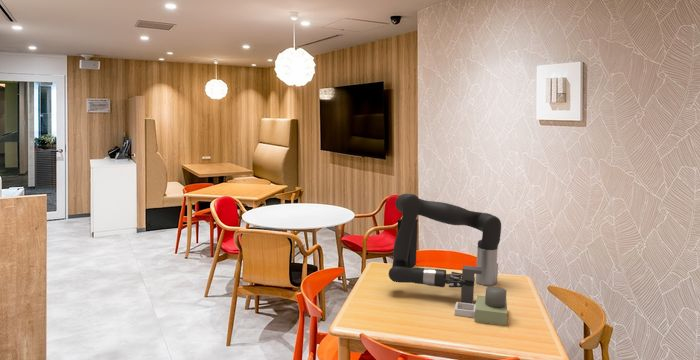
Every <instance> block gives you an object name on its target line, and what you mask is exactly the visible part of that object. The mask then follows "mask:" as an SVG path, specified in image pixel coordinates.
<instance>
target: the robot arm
mask: <svg viewBox="0 0 700 360" xmlns="http://www.w3.org/2000/svg"><path fill="white" fill-rule="evenodd" d="M394 203H395V204H394V205H395V208H396V209H397V210H398V212H400V213H401V217H402V218H401V219H402V222H401V226H400V229H399V231H398V230H397V231H398V234H397V233H396V236H395V240H394V245H393V250H392V258H393V259H392V260H393V261H392V266H391V268H389V270H388V277H389V279H390V280H391V281H392V282H394V283H402V284H403V283H405V284H407V283H408V284H409V283H412V284H417V285H426V286H429V287H430V286H431V287H439V288H445V287H446V285H448V288H460V289H461V288H462V287H463V286H474V287H475V283H476V284H478V285H481V286H493V285H496V284H497V283H498V274H499V273H498V272H499V271H498V270H499V263H498V250H499V248H498V247H499V244H500V242H501V234H502V223H501V220H500V218H499V217H498V216H495V215H494V214H491V213H487V212H479V211H472V210H469V209H466V208H463V207H461V206H458V205H455V204H450V203H448V202H447V203H446V202H442V201H441V202H440V201H434V200H426V199H421V198H419V197H418V195H416V194H413V193H402V194H400V195H398V196H397V198H395V202H394ZM418 216H421V217H425V218H427V219H430V220H432V221H435V222H439V223H443V224H447V225H451V226H467V227H470V228H473V229H476V230H478V231H480V232H482V236H481V239H479V240H478V241H477V248H476V249H477V250H476V251H477V252H476V266H475V267H482V274H475V276H474V281H468V280H462V273H461V272H455V271H451V273H447V270H446V269H442V268H441V269H440V268H428V267H427V268H426V267H425V268H424V267H411V268H407V260H408V255H409V248H410V242H411V237H412V232H413V228H414V225H415V221H416V219H418V218H417V217H418Z"/></svg>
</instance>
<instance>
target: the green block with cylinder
mask: <svg viewBox="0 0 700 360" xmlns="http://www.w3.org/2000/svg"><path fill="white" fill-rule="evenodd" d="M453 315H454V316H458V317H467V318H474V322H475V323H482V324H483V323H484V324H491V325H498V326H507V324H508V321H507V320H508V299H507V290H506V289H505V288H503V287H500V286H487V287H486V288H485V295H478V294H477V295H476V299H475V303H473V304H469V303H461V301H460V302H459V301H456V302H455V304H454V314H453Z"/></svg>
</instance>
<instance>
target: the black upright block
mask: <svg viewBox="0 0 700 360" xmlns="http://www.w3.org/2000/svg"><path fill="white" fill-rule="evenodd" d="M401 222H402V218H398V219H397V233H396V235H397V234H398V231H399V229H400V226H401ZM418 222H419V221H418V218H416V221H415V225H414V228H413V232H412V237H411V242H410V248H409V255H408V260H407V268H414V267H415V266H416V265H417V248H418V247H417V245H418V243H417V242H418Z"/></svg>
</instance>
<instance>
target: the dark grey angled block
mask: <svg viewBox="0 0 700 360" xmlns="http://www.w3.org/2000/svg"><path fill="white" fill-rule="evenodd" d="M461 271H462V277H461V278H462V280H468V281H474V277H476V274H482V267H476V266H472V265H465V264H464V265H462V269H461ZM460 289H461V291H460V302H461V303H469V304H474V291H475V285H474V286H463V287H462V288H461V287H460Z"/></svg>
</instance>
